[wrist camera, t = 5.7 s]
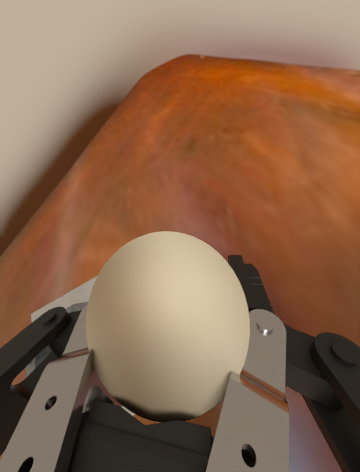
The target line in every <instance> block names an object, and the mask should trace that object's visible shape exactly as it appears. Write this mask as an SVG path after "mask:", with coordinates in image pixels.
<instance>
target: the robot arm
mask: <svg viewBox="0 0 360 472" xmlns="http://www.w3.org/2000/svg"><path fill="white" fill-rule="evenodd" d="M228 264H229V265H230V267H231V268H232V269H233V271H234V273H235V274H236V276H237V278H238V280H239V282H240V284H241V287H242V289H243V292H244V294H245V298H246V302H247V306H248V312H249V319H250V337H249V346H248V351H247V355H246V359H245V363H244V365H243V368H242V370H241V373H240V375H239V374H237V373H234V372H231V375H230V379H229V382H228V386H227V390H226V394H225V398H224V402H223V406H222V410H221V414H220V418H219V422H218V426H217V430H216V434H215V438H214V437H213V436H211V428H209V427H205V426H201V425H197V424H193V423H188V422H184V421H180V420H176V421H170V422H164V423H158V424H152V425H144V424H142V423H141V422H140V421H138V420H137V419H136V418H135V417H133V416H132V415H131V414H130V413H128V412H127V411H126V410H125V409H123V408H122V405H121V404H120V403H118V402H117V401H116V400H115V398H114V397H113V396H112V395H111V394H110V393H109V392H108V391H107V389H106V388H105V387H104V385H103V384H102V382H101V380H100V378H99V377H98V375H97V373H96V371H95V368H94V366H93V350H92V349H91V350H88V345H87V338H86V313H87V306H88V304H87V305H86V306H85V307H84V308H83V309H82V310H79V311H75V312H70V313H68V312H67V310H66V309H65V308H64V307H55V308H52V309H50V310H48V311H47V312H45V313H44V314H42V315H41V316H40V317H39V318H37V319H36V320H35V321H34V322H32V323H31V324H30V325H29V326H27V327H26V328H25V329H24V330H23V331H21V332H20V333H19V334H18V335H16V336H15V337H14V338H13V339H11V340H10V341H9V342H8V343H7V344H5V345H4V346H3V347H2V348H0V456H1V454H2V453H3V452H4V451H5V452H4V454H3V456H2V458H1V460H0V472H289V408H288V403H287V401H286V398H285V386H287V387H289V388H291V389H293V390H295V391H297V392H298V393H300V394H301V395H302V396H303V398H304V400H305V402H306V404H307V406H308V408H309V410H310V411H311V413H312V415H313V417H314V419H315V421H316V423H317V425H318V426H319V428H320V430H321V432H322V434H323V436H324V438H325V440H326V442H327V443H328V445H329V447H330V449H331V451H332V453H333V455H334V457H335V458H336V460H337V462H338V464H339V466H340V468H341V470H342V472H360V347H359V346H357V345H356V344H355V343H353V342H352V341H350V340H348V339H347V338H345V337H342V336H340V335H337V334H334V333H328V332H327V333H320V334H318V335H317V336H316V337H313V336H310V335H308V334H305V333H302V332H299V331H297V330H294V329H292V328H290V327H288V326H287V325H285V324H284V323H282V321H281V320H280V319H279V318H278V317H277V316H276V315H275V314H274V312H273V310H272V307H271V305H270V302H269V299H268V297H267V294H266V291H265V289H264V286H263V283H262V281H261V279H260V275H259V273H258V270H257V269H256V268H255V267H254V266H253V265H252V264H244V262H243V259H242V256H241V255H229V256H228ZM46 347H48V348H49V349H50V350H51V351H52V352H51V353H50V354H49V355H48V356H47V357H46V358H45V359H44V360H43V361H42V362H41V363H40V364H39V365H38V366H37V367H36V368H35V369H34V370H33V371H32V372H31V373H30V374H29V376H28V377H27V378H26V379H25V380H23V381H22V382H21V383H19V384H17V385H11V383H12V381H13V380H14V379H15V377H16V376H17V375H18V374H19V373H20V372H21V371H22V370H23V369H24V368H25V367H26V366H27V365H28V364H29V363H30V362H31V361H32V360H33V359H34V358H35V357H36V356H37V355H38V354H39V353H40V352H41V351H42V350H43V349H45V348H46ZM5 449H6V450H5Z"/></svg>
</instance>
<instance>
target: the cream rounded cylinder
mask: <svg viewBox="0 0 360 472" xmlns="http://www.w3.org/2000/svg"><path fill="white" fill-rule="evenodd" d="M249 337H250V319H249V312H248V306H247V302H246V298H245V294H244V292H243V289H242V287H241V284H240V282H239V280H238V278H237V276H236V274H235V273H234V271H233V269H232V268H231V267H230V265H229V264H228V263H227V261H226V260H225V259H224V258H223V257H222V256H221V255H220V254H219V253H218V252H217V251H216V250H215V249H213V248H212V247H211V246H210V245H208V244H206V243H205V242H203V241H202V240H200V239H197V238H195V237H193V236H190V235H187V234H184V233H178V232H168V231H163V232H154V233H150V234H146V235H143V236H140V237H138V238H136V239H134V240H132V241H130V242H128V243H127V244H125V245H124V246H122V247H121V248H120V249H119V250H118V251H116V252H115V253H114V254H113V255H112V257H111V258H110V259H109V260H108V261H107V262H106V264H105V265H104V266H103V268H102V270H101V271H100V273H99V275H98V276H97V278H96V281H95V283H94V285H93V288H92V291H91V294H90V297H89V301H88V306H87V313H86V338H87V345H88V350H91V349H92V350H93V366H94V368H95V371H96V373H97V375H98V377H99V378H100V380H101V382H102V384H103V385H104V387H105V388H106V389H107V391H108V392H109V393H110V394H111V395H112V396H113V397H114V398H115V400H116V401H117V402H118V403H120V404H121V405H122V406H124V407H125V408H126V409H127V410H129V411H131V412H132V413H134V414H136V415H138V416H140V417H143V418H146V419H149V420H151V421H157V422H163V423H164V422H170V421H176V420H180V421H186V420H190V419H193V418H195V417H198V416H200V415H202V414H204V413H206V412H207V411H209V410H210V409H212V408H213V407H215V406H216V405H217V404H218V403H219V402H220V401H221V400H222V399H223V398H224V397H225V394H226V390H227V386H228V382H229V379H230V375H231V372H234V373H237V374H239V375H240V373H241V370H242V368H243V365H244V363H245V359H246V355H247V351H248V346H249Z"/></svg>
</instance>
